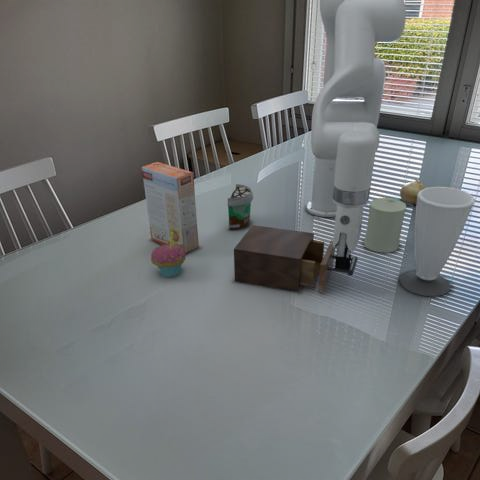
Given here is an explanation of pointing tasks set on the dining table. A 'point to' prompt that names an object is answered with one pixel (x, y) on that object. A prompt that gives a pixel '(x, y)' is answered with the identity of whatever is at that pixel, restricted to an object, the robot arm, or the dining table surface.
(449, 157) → the dining table surface
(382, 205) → the can
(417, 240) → the cup
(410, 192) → the onion
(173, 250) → the cupcake
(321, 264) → the drawer
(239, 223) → the food container
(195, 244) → the cracker box
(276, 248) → the cabinet
